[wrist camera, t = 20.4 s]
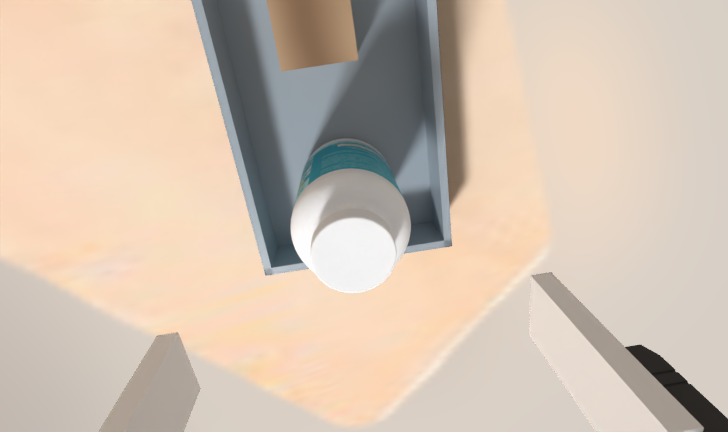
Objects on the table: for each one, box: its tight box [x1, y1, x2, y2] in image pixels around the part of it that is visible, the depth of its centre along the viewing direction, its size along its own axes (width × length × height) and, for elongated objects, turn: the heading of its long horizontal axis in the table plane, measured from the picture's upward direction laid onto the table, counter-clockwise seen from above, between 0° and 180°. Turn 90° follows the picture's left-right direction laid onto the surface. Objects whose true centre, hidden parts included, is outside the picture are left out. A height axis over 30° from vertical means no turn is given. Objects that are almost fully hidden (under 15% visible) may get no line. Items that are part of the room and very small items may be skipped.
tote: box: [191, 0, 452, 275], centre depth 29 cm, size 27×15×4 cm, turn 8°
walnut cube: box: [266, 0, 358, 72], centre depth 27 cm, size 5×5×5 cm
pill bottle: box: [290, 138, 411, 293], centre depth 28 cm, size 8×7×14 cm
